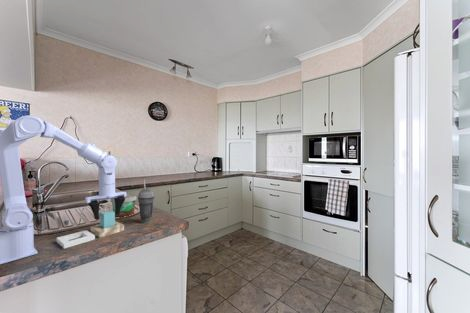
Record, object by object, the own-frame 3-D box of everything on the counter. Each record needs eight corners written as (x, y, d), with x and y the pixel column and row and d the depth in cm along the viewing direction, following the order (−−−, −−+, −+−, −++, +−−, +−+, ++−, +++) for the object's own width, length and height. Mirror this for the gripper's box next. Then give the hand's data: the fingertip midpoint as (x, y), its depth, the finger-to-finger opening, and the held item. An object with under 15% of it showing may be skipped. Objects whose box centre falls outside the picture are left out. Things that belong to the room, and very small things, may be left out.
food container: (106, 219, 97) (106, 199, 97) (111, 216, 103) (110, 196, 102) (134, 217, 100) (134, 197, 100) (137, 214, 106) (136, 195, 106)
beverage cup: (146, 225, 89) (145, 180, 89) (134, 223, 92) (133, 180, 92) (157, 220, 96) (157, 178, 96) (146, 218, 98) (146, 178, 98)
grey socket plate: (64, 248, 67) (64, 244, 67) (56, 241, 72) (56, 237, 72) (94, 239, 74) (94, 235, 74) (86, 233, 79) (86, 230, 79)
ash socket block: (99, 237, 75) (99, 231, 75) (90, 232, 81) (90, 226, 81) (124, 230, 83) (124, 224, 83) (114, 226, 88) (114, 220, 88)
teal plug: (104, 234, 79) (103, 214, 79) (100, 232, 81) (99, 212, 81) (114, 231, 82) (114, 212, 82) (110, 229, 84) (110, 210, 84)
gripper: (90, 187, 73) (90, 223, 73) (129, 182, 85) (130, 214, 85) (83, 185, 77) (83, 220, 78) (122, 181, 89) (122, 211, 89)
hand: (107, 216), depth 82 cm, fingers open, 7 cm apart
